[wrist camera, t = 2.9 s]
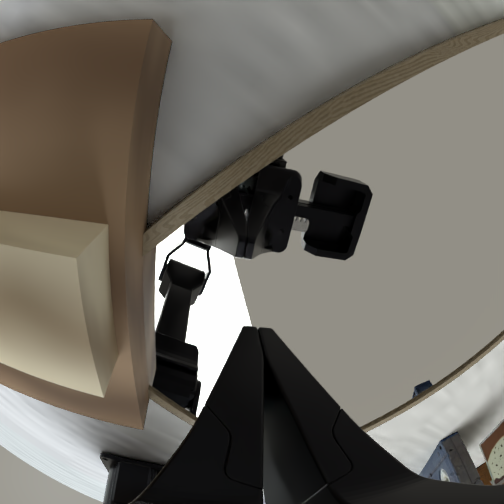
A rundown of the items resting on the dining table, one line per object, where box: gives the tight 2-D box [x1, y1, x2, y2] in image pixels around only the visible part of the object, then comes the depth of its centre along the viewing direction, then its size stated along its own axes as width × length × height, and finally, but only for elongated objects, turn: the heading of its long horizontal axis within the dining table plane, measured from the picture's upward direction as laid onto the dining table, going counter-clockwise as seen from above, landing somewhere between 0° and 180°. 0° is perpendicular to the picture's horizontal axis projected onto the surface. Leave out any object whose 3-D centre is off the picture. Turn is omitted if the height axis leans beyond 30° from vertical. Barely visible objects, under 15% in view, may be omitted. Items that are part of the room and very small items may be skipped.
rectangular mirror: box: [142, 18, 504, 433], centre depth 12 cm, size 19×1×28 cm
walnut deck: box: [0, 19, 172, 430], centre depth 9 cm, size 16×10×2 cm, turn 169°
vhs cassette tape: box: [419, 432, 484, 485], centre depth 22 cm, size 18×3×10 cm, turn 15°
